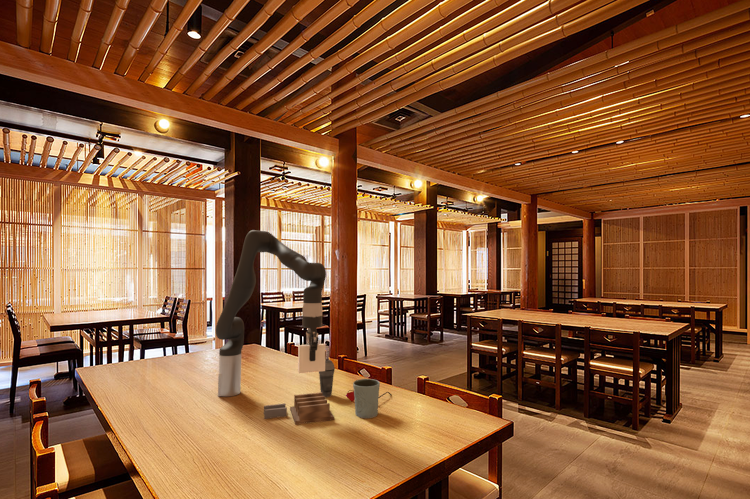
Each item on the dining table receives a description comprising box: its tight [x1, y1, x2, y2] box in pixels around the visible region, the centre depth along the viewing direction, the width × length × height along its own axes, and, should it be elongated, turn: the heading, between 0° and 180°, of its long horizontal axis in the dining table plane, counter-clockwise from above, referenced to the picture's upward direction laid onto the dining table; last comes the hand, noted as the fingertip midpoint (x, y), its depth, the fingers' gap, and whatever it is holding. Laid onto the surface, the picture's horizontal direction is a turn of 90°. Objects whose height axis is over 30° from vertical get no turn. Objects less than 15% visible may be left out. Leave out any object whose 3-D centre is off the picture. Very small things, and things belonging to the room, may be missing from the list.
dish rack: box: [289, 391, 335, 426], centre depth 148 cm, size 14×15×6 cm
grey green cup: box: [352, 378, 381, 419], centre depth 149 cm, size 10×10×12 cm
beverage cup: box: [318, 356, 336, 398], centre depth 170 cm, size 7×7×20 cm
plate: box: [297, 343, 326, 374], centre depth 149 cm, size 10×2×10 cm, turn 109°
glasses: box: [345, 389, 392, 402], centre depth 168 cm, size 14×16×5 cm
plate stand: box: [263, 402, 288, 420], centre depth 147 cm, size 8×5×3 cm
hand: (311, 360), depth 148 cm, fingers closed on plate, 2 cm apart
